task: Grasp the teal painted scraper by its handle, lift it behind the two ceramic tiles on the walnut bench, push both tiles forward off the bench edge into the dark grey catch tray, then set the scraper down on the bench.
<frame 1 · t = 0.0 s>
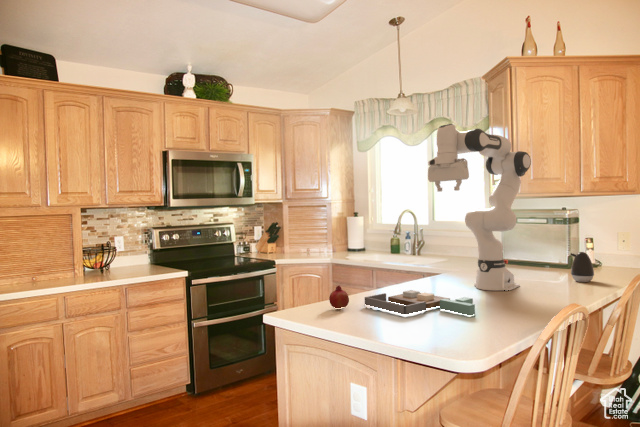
hand: (448, 191, 198), 48 cm above the worktop, fingers open, 8 cm apart
fruit: (339, 310, 183), on the worktop
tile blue: (411, 296, 190), point 3 cm above the worktop, touching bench
tile cream: (425, 299, 184), point 3 cm above the worktop, touching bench
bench: (418, 304, 187), on the worktop
catch tray: (394, 310, 179), on the worktop
pump dispenser: (582, 281, 227), on the worktop
scraper: (464, 311, 173), on the worktop
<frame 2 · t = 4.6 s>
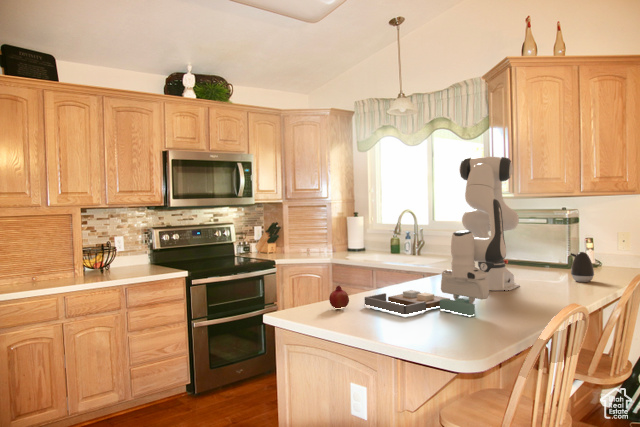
hand: (464, 307, 173), 2 cm above the worktop, fingers closed on scraper, 3 cm apart
scraper: (464, 311, 173), on the worktop, touching gripper
everything else where it was.
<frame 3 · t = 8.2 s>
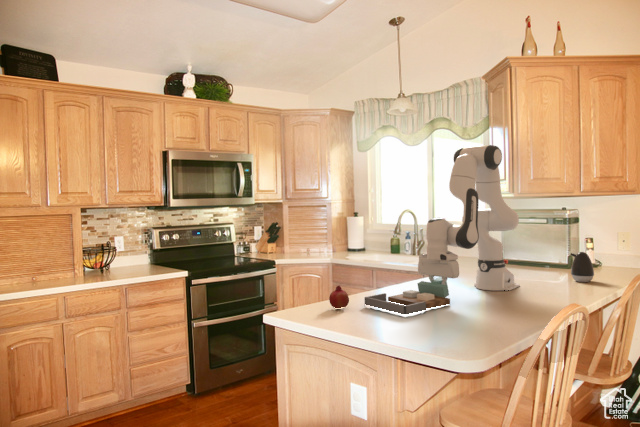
hand: (438, 286, 193), 6 cm above the worktop, fingers closed on scraper, 4 cm apart
scraper: (440, 290, 194), point 4 cm above the worktop, tilted 12°, touching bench, gripper
everything else where it was.
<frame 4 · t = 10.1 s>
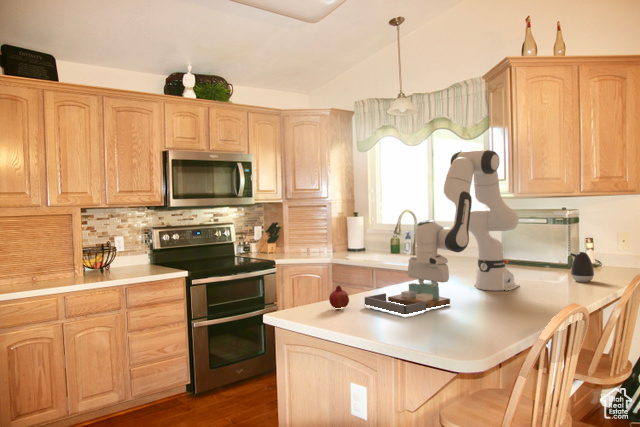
hand: (427, 290, 190), 5 cm above the worktop, fingers closed on scraper, 3 cm apart
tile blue: (409, 296, 190), point 3 cm above the worktop, touching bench, scraper
tile cream: (424, 299, 183), point 3 cm above the worktop, touching scraper
scraper: (430, 294, 191), point 3 cm above the worktop, touching gripper, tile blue, tile cream
everything else where it was.
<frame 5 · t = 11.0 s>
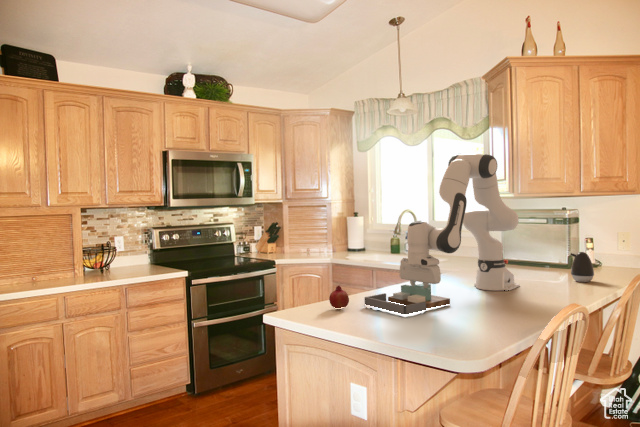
hand: (419, 291, 187), 5 cm above the worktop, fingers closed on scraper, 3 cm apart
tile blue: (401, 298, 187), point 3 cm above the worktop, touching scraper
tile cream: (416, 301, 180), point 3 cm above the worktop
scraper: (423, 296, 188), point 3 cm above the worktop, touching gripper, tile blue
everything else where it was.
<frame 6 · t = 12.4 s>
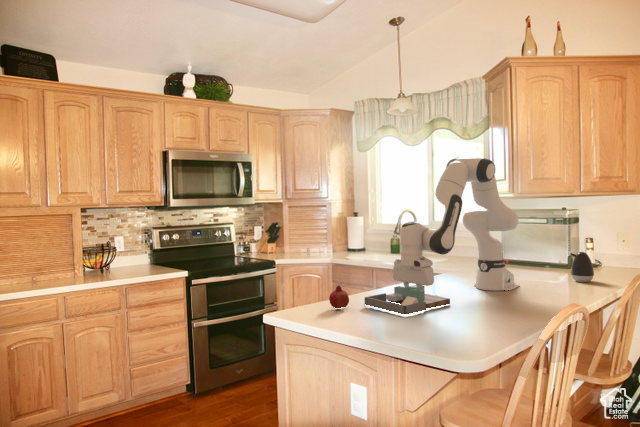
hand: (413, 293, 185), 5 cm above the worktop, fingers closed on scraper, 3 cm apart
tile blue: (394, 299, 185), point 3 cm above the worktop, touching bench, scraper
tile cream: (410, 305, 178), point 2 cm above the worktop, tilted 35°, touching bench, catch tray
scraper: (416, 297, 186), point 3 cm above the worktop, touching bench, gripper, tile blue
everything else where it was.
when the fingers open (6 cm above the worktop, at t = 14.3 s): scraper stays where it is, resting on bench.
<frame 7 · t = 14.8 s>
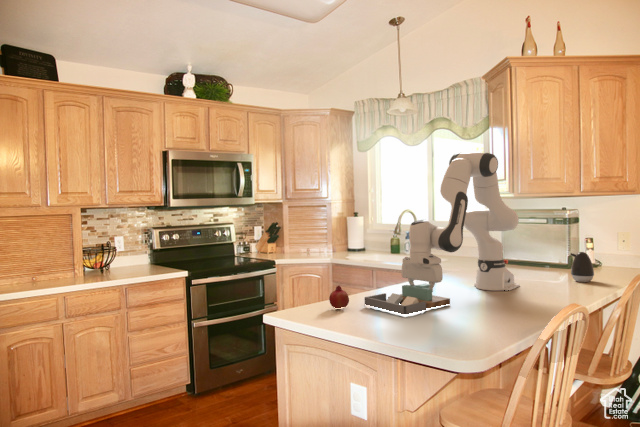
hand: (421, 290, 188), 6 cm above the worktop, fingers open, 8 cm apart
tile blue: (395, 301, 185), point 2 cm above the worktop, tilted 35°, touching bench, catch tray
scraper: (424, 296, 189), point 3 cm above the worktop, touching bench
everything else where it was.
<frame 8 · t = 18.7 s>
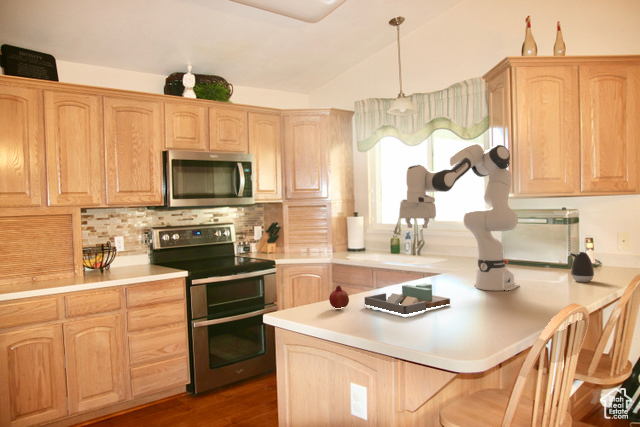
hand: (417, 228, 210), 31 cm above the worktop, fingers open, 8 cm apart
nothing on the worktop moved.
at the end: tile cream inside the target area (6.7 cm from its centre), point 2.0 cm above the worktop; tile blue inside the target area (6.5 cm from its centre), point 2.0 cm above the worktop; the gripper is holding nothing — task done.
